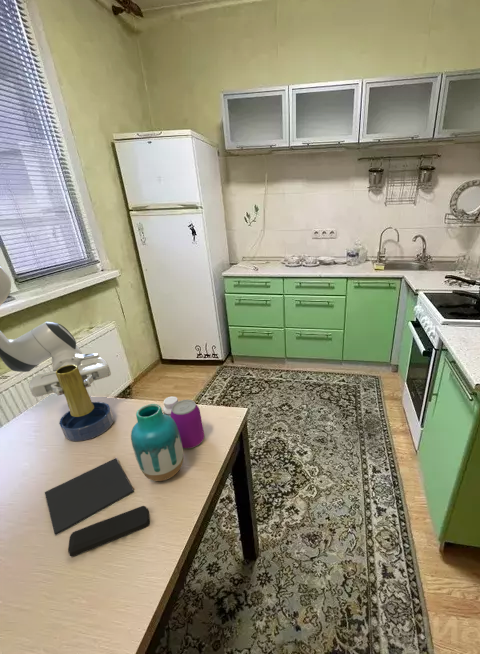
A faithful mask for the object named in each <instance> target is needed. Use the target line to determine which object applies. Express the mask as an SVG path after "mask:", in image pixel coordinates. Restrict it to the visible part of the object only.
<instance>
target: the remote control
mask: <svg viewBox="0 0 480 654" xmlns="http://www.w3.org/2000/svg"><path fill="white" fill-rule="evenodd" d="M150 521H151V520H150V512H149V509H148V508H147V506H145V505H140V506H138V507H135V508H133V509H130V510H127V511H124V512H122V513H120V514H116V515H114V516H111V517H109V518H107V519H104V520H101V521H98V522H96V523H92V524H90V525H88V526H85V527H83V528H82V527H81V528H79V529H76V530H75V531H73V532H72V533H71V534H70V535H69V541H68V548H67V550H68V556H69V557H71V558H72V557H76V556H78V555H82V554H83V553H85V552H86V553H87V552H88V551H91V550H93V549H95V548H99V547H101V546H103V545H106V544H108V543H111V542H113V541H116V540H118V539H120V538H124V537H126V536H129V535H131V534H133V533H136V532H138V531H141V530H143V529H146V528H147V527H149V526H150Z"/></svg>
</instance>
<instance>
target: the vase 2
mask: <svg viewBox="0 0 480 654" xmlns="http://www.w3.org/2000/svg"><path fill="white" fill-rule="evenodd" d="M135 416H136V421H137V422H136V423H135V424H134V426H133V427H132V429H131V433H130V441H131V446H132V449H133V454H134V457H135V459H136V462H137V464H138V467H139V469H140V471H141V473H142V474H143V475H144V477H146V478H147V479H149V480H151V481H153V482H154V481H156V482H162V481H166V480H170V479H171V478H172V477H174V476H176V475H177V474H178V473H179V471H180V470H181V468H182V466H183V463H184V448H183V447H182V442H181V438H180V434H179V430H178V427H177V425H176V423H175V421H174V420H173V419H172V418H171V417H170V416H168V415H165V414H164V412H163V408H162V407H161V406H160V404H156V403H149V404H146V405H143V406H142V407H140V408H139V409H137V411H136V413H135Z"/></svg>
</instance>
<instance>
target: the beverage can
mask: <svg viewBox="0 0 480 654" xmlns="http://www.w3.org/2000/svg"><path fill="white" fill-rule="evenodd" d="M170 416H171V418H172V419H173V420H174V421H175V423H176V425H177V427H178V430H179V434H180V438H181V442H182V447H183V449H193V448H196V447H198V446H199V445H200V444H201V443H202V442H203V441H204V439H205V431H204V426H203V421H202V415H201V410H200V408H199V406H198V405H197V404H196V402H195V401H194V400H192V399H182V400H178V402H177V403H175V404H174V405H173V406H172V411H171V415H170Z"/></svg>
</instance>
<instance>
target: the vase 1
mask: <svg viewBox="0 0 480 654" xmlns="http://www.w3.org/2000/svg"><path fill="white" fill-rule="evenodd" d="M56 376H57V378H58V380H59V383H60V385H61V388H62V389H63V392H64V394H63V395H64V397H65V400H66V403H67V407H68V409H69V410H68V411H70V414H71V416H74V417H80V416H84V415H87V414H89V413H90V412H91V411H92V410H93V409H94V405H93V403H92V402H93V401H92V399H91V397H90V395H89V392H88V390H87V387H86V388H85V385H84V382H83V380H82V377H81V375H80V372H79V369H78V366H77V365H66V366H63V367H60V368H59V369H57V370H56Z"/></svg>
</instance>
